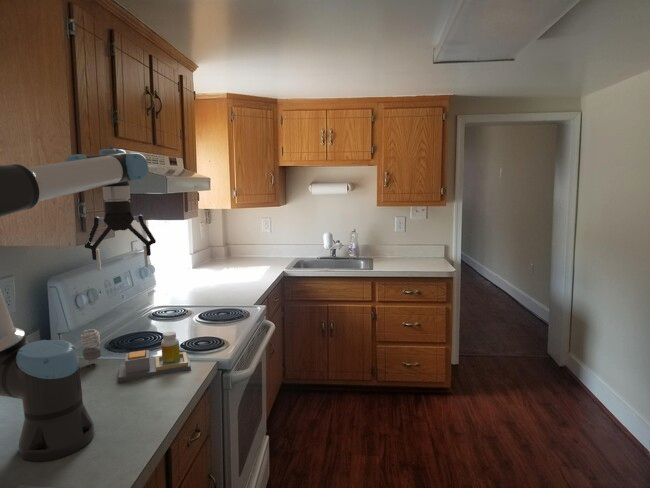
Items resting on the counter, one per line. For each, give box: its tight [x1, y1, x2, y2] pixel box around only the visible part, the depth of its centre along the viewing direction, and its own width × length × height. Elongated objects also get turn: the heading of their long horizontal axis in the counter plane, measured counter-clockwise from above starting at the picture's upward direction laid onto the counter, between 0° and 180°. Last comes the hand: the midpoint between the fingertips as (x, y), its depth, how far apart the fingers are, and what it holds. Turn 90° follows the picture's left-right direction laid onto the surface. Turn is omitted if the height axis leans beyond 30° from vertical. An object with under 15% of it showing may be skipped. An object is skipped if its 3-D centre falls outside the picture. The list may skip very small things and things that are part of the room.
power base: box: [117, 349, 192, 383], centre depth 145 cm, size 21×11×6 cm, turn 111°
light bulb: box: [80, 328, 102, 365], centre depth 150 cm, size 6×6×12 cm
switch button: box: [129, 349, 146, 360], centre depth 143 cm, size 5×5×4 cm
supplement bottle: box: [160, 331, 181, 365], centre depth 146 cm, size 5×5×10 cm
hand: (123, 268), depth 143 cm, fingers open, 13 cm apart
